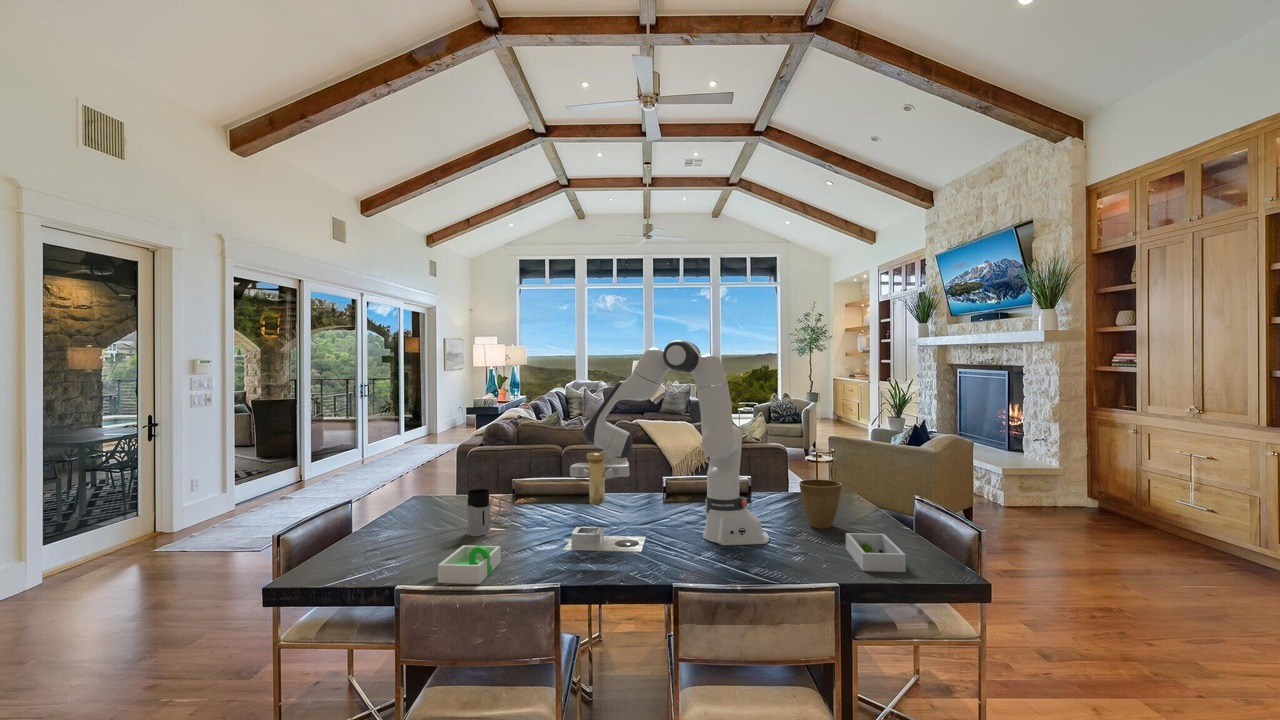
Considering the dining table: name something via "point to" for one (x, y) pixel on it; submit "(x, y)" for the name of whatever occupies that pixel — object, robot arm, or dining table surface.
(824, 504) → the plant pot
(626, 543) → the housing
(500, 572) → the dining table surface
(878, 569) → the flower tray
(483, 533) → the glass holder
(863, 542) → the decorative flower
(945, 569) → the dining table surface
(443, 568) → the parts tray
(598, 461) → the brass flanged pin
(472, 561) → the mechanical part
